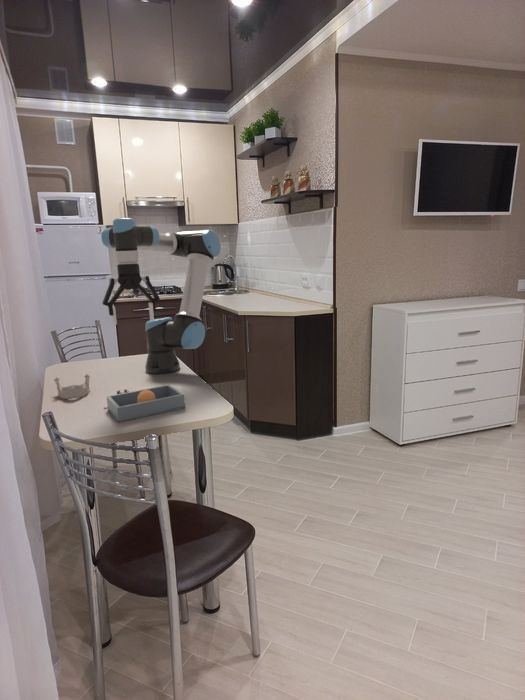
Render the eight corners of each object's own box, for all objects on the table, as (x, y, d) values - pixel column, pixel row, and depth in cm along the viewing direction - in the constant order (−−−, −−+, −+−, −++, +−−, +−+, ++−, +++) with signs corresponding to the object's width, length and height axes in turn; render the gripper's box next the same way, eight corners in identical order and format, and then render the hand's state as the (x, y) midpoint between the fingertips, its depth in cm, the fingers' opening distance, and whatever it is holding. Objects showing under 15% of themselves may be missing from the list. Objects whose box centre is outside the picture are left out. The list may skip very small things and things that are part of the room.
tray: (170, 396, 166) (168, 384, 165) (185, 407, 153) (184, 394, 152) (108, 409, 155) (106, 396, 154) (118, 422, 143) (117, 408, 142)
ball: (153, 403, 157) (151, 386, 156) (158, 408, 152) (157, 391, 151) (135, 406, 154) (134, 389, 153) (140, 411, 149) (139, 394, 148)
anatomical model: (54, 400, 164) (51, 373, 165) (57, 404, 174) (54, 378, 175) (92, 395, 168) (89, 368, 170) (93, 398, 178) (89, 373, 180)
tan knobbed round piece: (121, 398, 167) (120, 389, 166) (132, 398, 166) (131, 389, 165) (115, 402, 163) (114, 392, 162) (126, 402, 161) (125, 393, 161)
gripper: (158, 261, 172) (163, 317, 177) (89, 265, 160) (96, 325, 164) (165, 261, 166) (170, 319, 170) (93, 265, 154) (101, 327, 158)
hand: (134, 322), depth 167 cm, fingers open, 13 cm apart
